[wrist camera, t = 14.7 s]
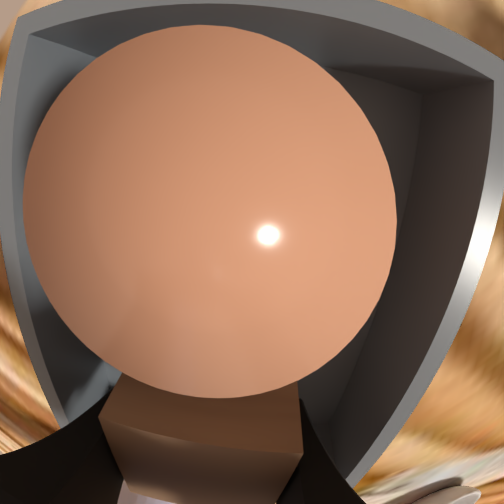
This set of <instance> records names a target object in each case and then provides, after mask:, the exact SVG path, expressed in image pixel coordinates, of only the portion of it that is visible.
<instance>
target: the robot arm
mask: <svg viewBox="0 0 504 504" xmlns="http://www.w3.org/2000/svg"><path fill="white" fill-rule="evenodd" d="M113 388H114V387H113ZM113 388H112V389H111V390H110V391H109V392H108V393H107V394H106V395H104V396H103V397H102V398H101V399H100V400H99V401H97V402H96V403H95V404H94V405H93V406H92V407H90V408H89V409H88V410H87V411H85V412H84V413H83V414H81V415H80V416H79V417H77V418H76V419H75V420H73V421H72V422H70V423H69V424H68V425H66V426H64V427H63V428H61V429H60V430H58V431H56V432H55V433H53V434H51V435H49V436H47V437H45V438H44V439H42V440H40V441H38V442H35V443H33V444H31V445H28V446H26V447H23V448H21V449H18V450H15V451H13V452H9V453H6V454H2V455H0V504H175V503H171V502H166V501H162V500H158V499H154V498H150V497H147V496H143V495H139V494H136V493H133V492H130V490H129V488H128V486H127V484H126V482H125V480H124V478H123V476H122V474H121V472H120V470H119V467H118V465H117V463H116V461H115V458H114V456H113V454H112V451H111V449H110V446H109V444H108V442H107V439H106V436H105V434H104V431H103V429H102V426H101V423H100V420H99V418H98V416H99V414H100V412H101V411H102V409H103V407H104V405H105V403H106V401H107V399H108V397H109V396H110V394H111V392H112V390H113ZM299 406H300V417H301V429H302V441H303V455H302V457H301V459H300V461H299V463H298V465H297V466H296V468H295V470H294V472H293V474H292V476H291V477H290V479H289V481H288V483H287V484H286V486H285V488H284V490H283V491H282V493H281V495H280V496H279V498H278V500H277V501H276V504H366V503H365V502H364V501H363V500H362V499H361V498H360V497H359V496H358V495H357V493H356V492H355V491H354V490H353V489H352V487H351V486H350V485H349V484H348V482H347V481H346V480H345V478H344V477H343V476H342V474H341V473H340V472H339V470H338V469H337V467H336V466H335V464H334V462H333V461H332V459H331V458H330V456H329V454H328V453H327V451H326V449H325V447H324V446H323V444H322V442H321V440H320V438H319V436H318V434H317V432H316V430H315V428H314V426H313V424H312V422H311V419H310V417H309V415H308V412H307V410H306V407H305V405H304V402H303V400H302V399H301V398H299Z"/></svg>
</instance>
